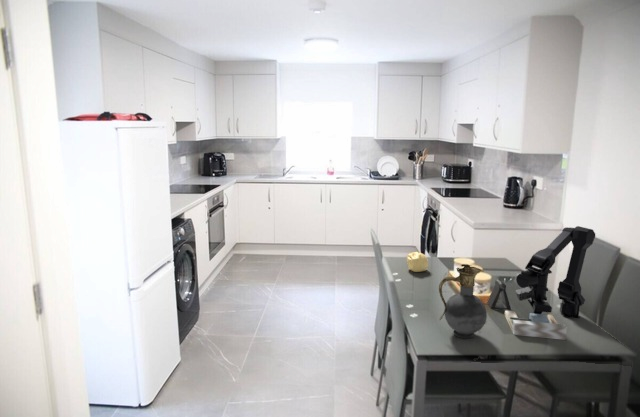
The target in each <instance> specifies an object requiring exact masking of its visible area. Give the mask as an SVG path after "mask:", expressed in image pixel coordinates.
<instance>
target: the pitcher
mask: <svg viewBox="0 0 640 417" xmlns="http://www.w3.org/2000/svg"><path fill="white" fill-rule="evenodd" d="M460 266H461V267H462V268H460V267H457V268H456V267H455V269H456V272H457V273H458V275H457V276H456V277H455V276H450V275H449V276H446V277H443V278H442V279H441V280H440V282H439V285H438V293H439V296H440V298H441V301H442V303H443V306H444V311H443V313H442V314H441V315H440V318H439V321H441V319H443V317H444V318H445V320H446V323H447V325H448V326H449V327H450V328H451V329H452V330H453V331H452V332H453V335H454V336H456V338H457V337H458V338H460V339H472V338H473V337H474V336H475V333H477V332H479V331H480V330H482V328H483V327H484V326H485V325H486V321H487V309H486V306H485V303H484V302H483V301H482V300H481V298H479V297H478V296H477V295H475V294H474V288H475V286H476V285H475V284H476V283H475V281H476V280H475V278H476V276H477V275H478V274H480V272H483V273H484V270H482V269H481V268H478V267H475V266H473V265H471V264H467V263H463V264H460ZM449 281H451V282H456V283H459V286H460V287H459V288H460V289H459V292H458V293H455V294H452V295H451V296H450V297H449V298H448V299H447V301H445V298H444V296H443V290H442V288H443V285H444V284H445V283H446V282H449Z"/></svg>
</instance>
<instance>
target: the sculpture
mask: <svg viewBox="0 0 640 417" xmlns="http://www.w3.org/2000/svg"><path fill="white" fill-rule="evenodd" d="M428 259H429V258H428V257H427V256H426V255H425V253H421V252H418V251H415V252H410V253H408V254H407V255H406V264H407V268H408V269H409V270H410V271H411V272H414V273H421V272H425V271H426V270H427V269H428V266H429V260H428Z"/></svg>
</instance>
